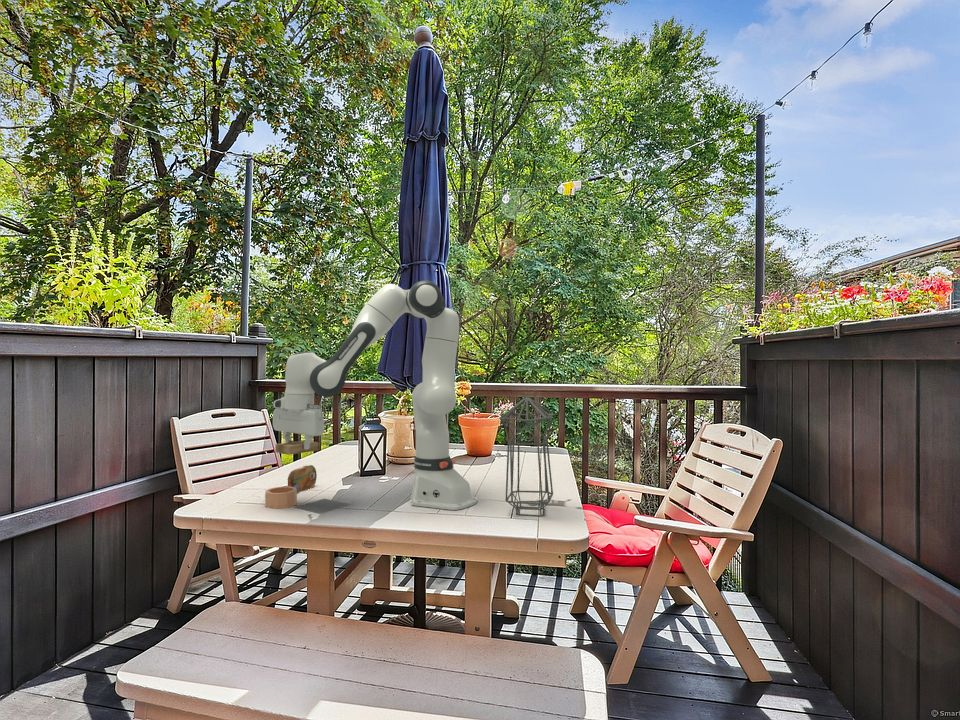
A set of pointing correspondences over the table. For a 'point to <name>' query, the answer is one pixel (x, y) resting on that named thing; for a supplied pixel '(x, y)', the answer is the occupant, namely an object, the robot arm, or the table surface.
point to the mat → (322, 506)
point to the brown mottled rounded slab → (302, 478)
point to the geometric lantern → (545, 416)
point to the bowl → (280, 497)
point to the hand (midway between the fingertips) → (297, 447)
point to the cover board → (295, 447)
